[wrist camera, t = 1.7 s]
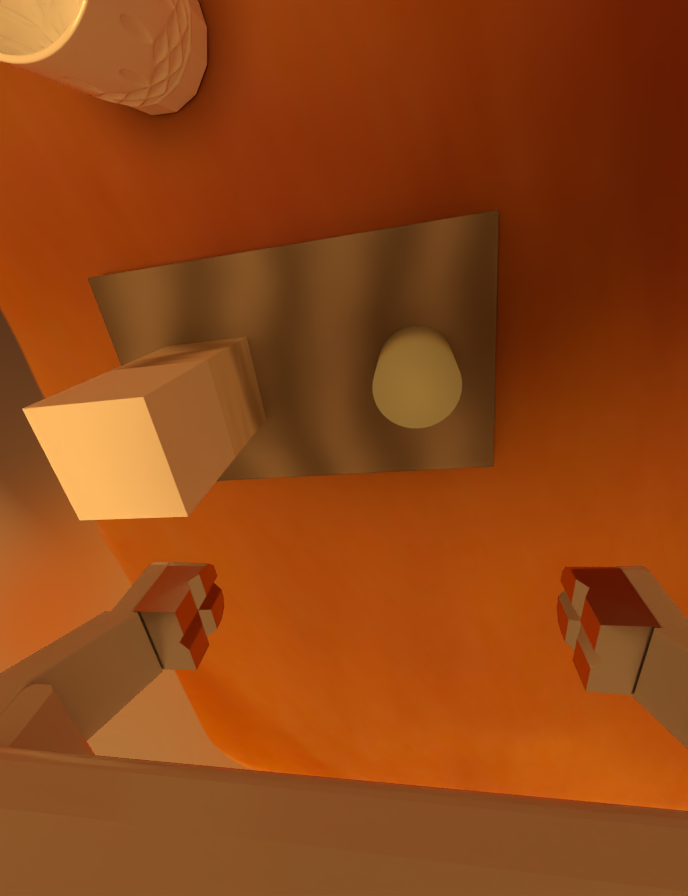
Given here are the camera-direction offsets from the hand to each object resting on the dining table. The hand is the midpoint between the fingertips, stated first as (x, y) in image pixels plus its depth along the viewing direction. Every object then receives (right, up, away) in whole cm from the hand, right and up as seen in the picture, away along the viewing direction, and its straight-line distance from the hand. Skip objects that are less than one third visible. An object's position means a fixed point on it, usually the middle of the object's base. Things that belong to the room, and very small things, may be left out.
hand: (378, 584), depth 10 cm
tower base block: (-10, +8, +19) cm, 23 cm away
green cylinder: (+4, +9, +17) cm, 19 cm away
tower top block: (-11, +5, +14) cm, 19 cm away
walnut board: (-4, +9, +20) cm, 22 cm away
